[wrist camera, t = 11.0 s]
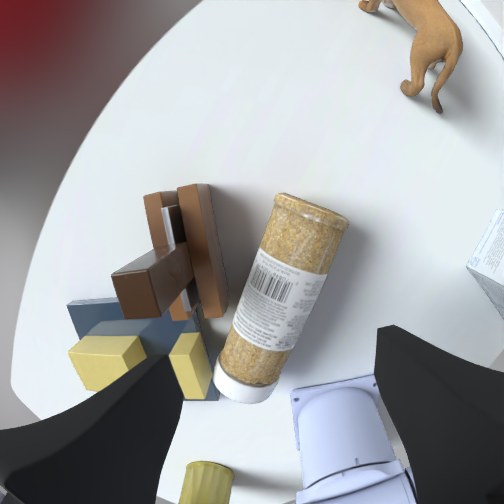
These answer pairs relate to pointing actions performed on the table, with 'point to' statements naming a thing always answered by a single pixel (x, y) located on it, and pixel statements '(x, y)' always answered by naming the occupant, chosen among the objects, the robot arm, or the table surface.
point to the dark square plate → (136, 330)
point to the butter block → (105, 359)
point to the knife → (158, 275)
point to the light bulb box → (491, 261)
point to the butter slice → (191, 365)
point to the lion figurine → (426, 42)
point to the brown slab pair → (193, 246)
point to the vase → (206, 484)
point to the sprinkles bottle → (277, 297)
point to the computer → (489, 18)
